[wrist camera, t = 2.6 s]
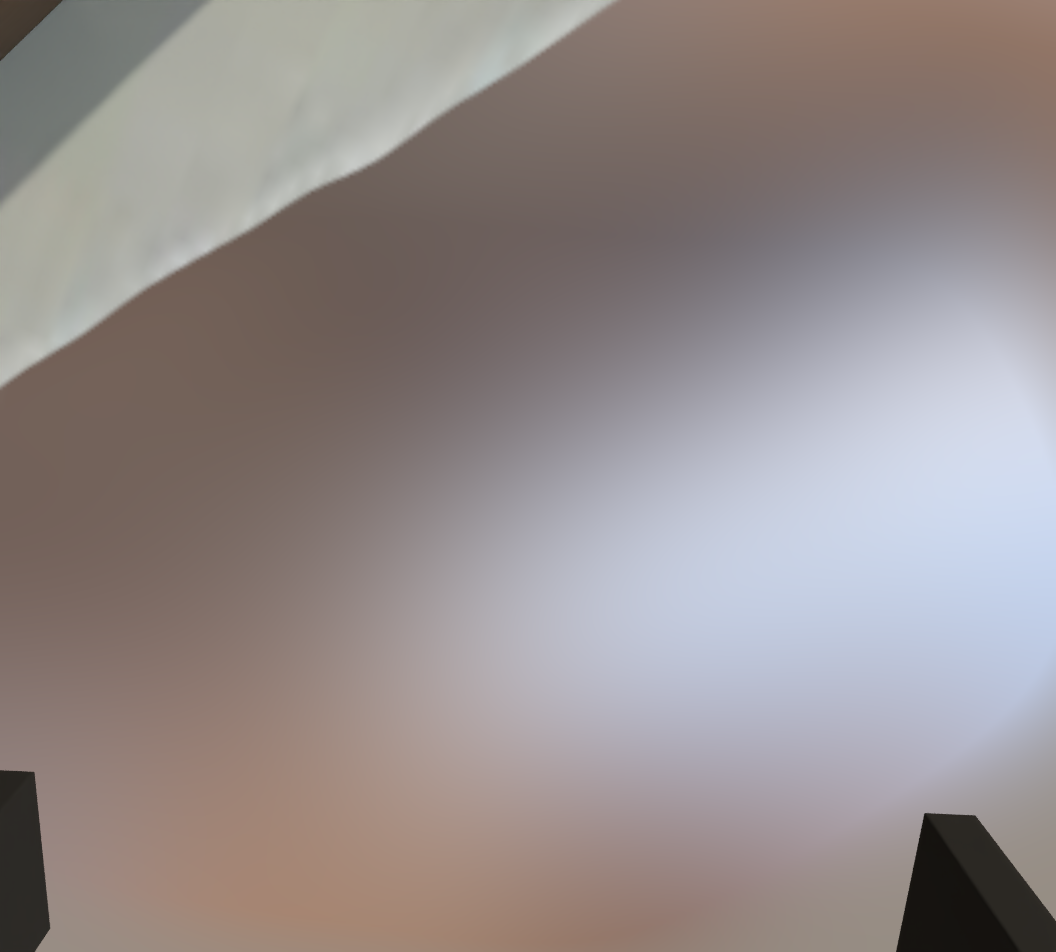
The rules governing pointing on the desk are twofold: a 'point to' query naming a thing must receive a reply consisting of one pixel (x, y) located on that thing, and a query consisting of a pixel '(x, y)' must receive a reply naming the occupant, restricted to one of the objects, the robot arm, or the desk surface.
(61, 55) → the desk surface
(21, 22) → the step shelf
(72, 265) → the desk surface
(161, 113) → the desk surface
